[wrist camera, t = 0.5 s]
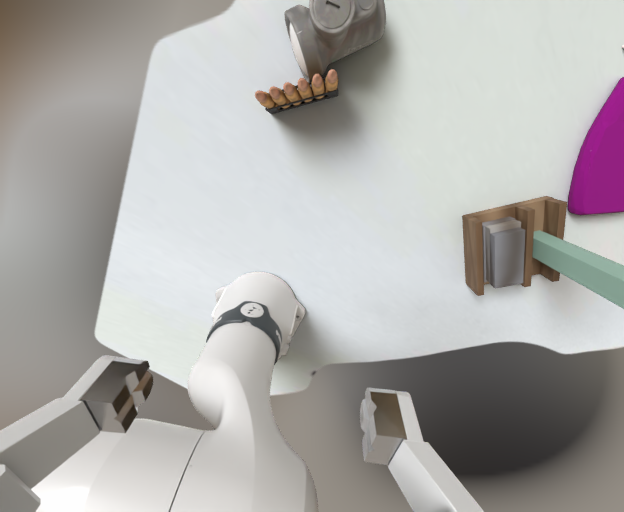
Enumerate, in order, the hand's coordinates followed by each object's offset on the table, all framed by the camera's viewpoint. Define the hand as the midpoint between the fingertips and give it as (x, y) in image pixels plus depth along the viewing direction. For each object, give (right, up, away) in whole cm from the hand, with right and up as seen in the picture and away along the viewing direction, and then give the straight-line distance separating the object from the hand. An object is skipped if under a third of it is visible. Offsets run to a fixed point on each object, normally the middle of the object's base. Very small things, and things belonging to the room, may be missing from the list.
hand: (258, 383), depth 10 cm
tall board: (+40, +7, +36) cm, 55 cm away
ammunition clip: (+1, +29, +31) cm, 42 cm away
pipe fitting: (+5, +35, +28) cm, 45 cm away
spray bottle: (+49, +24, +31) cm, 63 cm away
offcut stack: (+34, +6, +37) cm, 51 cm away
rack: (+36, +7, +38) cm, 53 cm away
